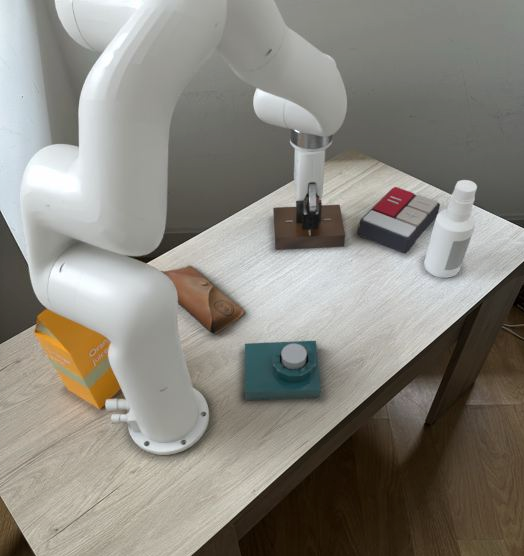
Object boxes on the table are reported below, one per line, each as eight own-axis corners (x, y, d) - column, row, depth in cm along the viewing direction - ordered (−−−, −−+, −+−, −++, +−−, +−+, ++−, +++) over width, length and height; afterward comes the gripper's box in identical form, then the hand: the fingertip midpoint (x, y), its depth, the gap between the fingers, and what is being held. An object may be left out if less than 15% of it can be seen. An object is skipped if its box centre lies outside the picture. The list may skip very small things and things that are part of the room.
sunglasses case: (248, 310, 94) (231, 298, 89) (225, 341, 95) (206, 330, 89) (188, 263, 103) (169, 249, 97) (167, 291, 104) (147, 279, 98)
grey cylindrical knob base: (245, 400, 83) (244, 386, 80) (245, 351, 89) (244, 336, 86) (320, 397, 83) (321, 383, 80) (315, 348, 89) (316, 333, 86)
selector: (275, 249, 105) (274, 237, 103) (273, 219, 112) (273, 206, 109) (344, 246, 105) (345, 234, 103) (338, 216, 111) (339, 203, 109)
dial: (296, 223, 106) (296, 203, 102) (295, 219, 106) (296, 199, 103) (320, 222, 105) (321, 202, 102) (320, 217, 106) (321, 198, 103)
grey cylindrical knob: (282, 370, 82) (281, 363, 81) (281, 350, 85) (280, 343, 83) (307, 369, 82) (307, 362, 81) (305, 349, 84) (305, 342, 83)
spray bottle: (460, 280, 98) (489, 199, 84) (423, 276, 99) (445, 196, 85) (459, 256, 102) (486, 175, 88) (423, 252, 103) (444, 172, 89)
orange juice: (66, 389, 86) (16, 306, 70) (104, 353, 90) (65, 267, 75) (100, 410, 83) (56, 328, 67) (137, 372, 87) (104, 287, 72)
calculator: (442, 200, 107) (410, 236, 99) (437, 218, 110) (405, 254, 103) (394, 183, 112) (359, 217, 104) (390, 201, 115) (356, 234, 107)
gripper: (287, 109, 97) (287, 190, 110) (292, 161, 86) (292, 244, 100) (327, 107, 97) (322, 189, 110) (338, 159, 86) (331, 242, 100)
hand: (308, 215), depth 105 cm, fingers open, 7 cm apart
